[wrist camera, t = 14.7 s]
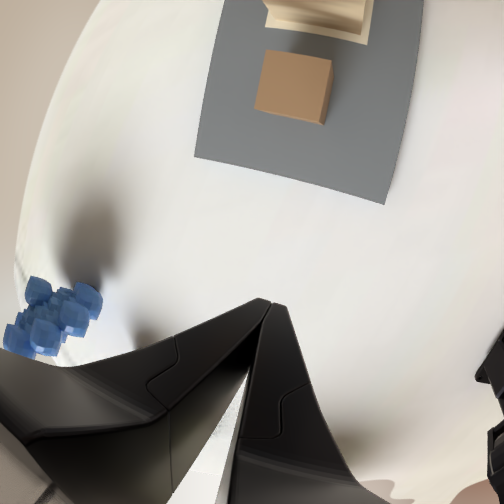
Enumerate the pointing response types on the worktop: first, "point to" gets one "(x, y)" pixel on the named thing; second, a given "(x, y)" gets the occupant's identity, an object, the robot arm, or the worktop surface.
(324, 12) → the maple block
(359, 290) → the worktop surface
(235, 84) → the board
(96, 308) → the grapes
